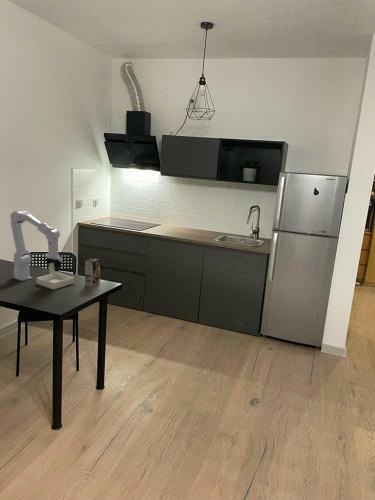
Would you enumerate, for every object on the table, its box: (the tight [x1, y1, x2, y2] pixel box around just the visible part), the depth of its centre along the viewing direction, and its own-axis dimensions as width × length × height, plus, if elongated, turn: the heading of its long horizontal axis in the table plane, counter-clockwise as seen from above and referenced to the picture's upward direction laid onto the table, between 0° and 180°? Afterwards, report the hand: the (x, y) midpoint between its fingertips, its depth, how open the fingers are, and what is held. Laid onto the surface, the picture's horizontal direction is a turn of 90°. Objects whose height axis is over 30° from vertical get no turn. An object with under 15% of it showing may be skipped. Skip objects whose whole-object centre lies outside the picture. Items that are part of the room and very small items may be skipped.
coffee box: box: [84, 257, 101, 288], centre depth 232 cm, size 9×6×16 cm
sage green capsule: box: [48, 263, 59, 275], centre depth 227 cm, size 5×5×6 cm
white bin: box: [36, 271, 75, 291], centre depth 230 cm, size 16×16×4 cm
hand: (53, 270), depth 228 cm, fingers closed on sage green capsule, 5 cm apart
